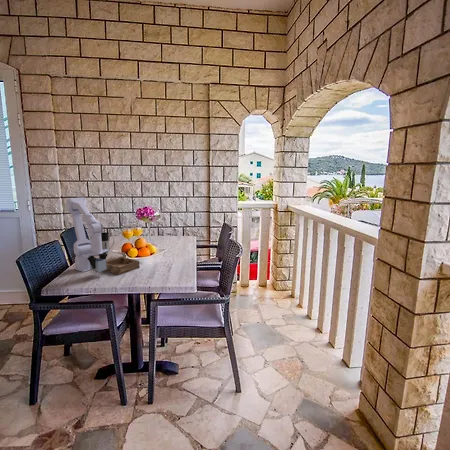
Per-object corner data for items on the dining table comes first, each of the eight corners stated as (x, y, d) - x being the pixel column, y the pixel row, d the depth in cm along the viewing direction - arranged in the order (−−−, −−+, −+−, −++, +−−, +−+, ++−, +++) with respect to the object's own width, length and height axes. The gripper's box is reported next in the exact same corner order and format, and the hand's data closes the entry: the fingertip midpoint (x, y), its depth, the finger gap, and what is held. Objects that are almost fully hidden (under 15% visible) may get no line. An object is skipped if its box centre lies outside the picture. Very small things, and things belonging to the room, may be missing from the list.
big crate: (102, 270, 179) (101, 262, 178) (122, 263, 191) (121, 257, 190) (119, 274, 170) (119, 267, 170) (139, 267, 183) (139, 260, 182)
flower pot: (120, 262, 195) (119, 249, 193) (121, 258, 204) (120, 246, 202) (135, 261, 197) (134, 248, 196) (135, 257, 206) (135, 245, 205)
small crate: (90, 269, 168) (89, 259, 167) (97, 267, 172) (97, 257, 171) (98, 272, 164) (98, 262, 163) (106, 269, 168) (105, 259, 167)
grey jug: (103, 251, 221) (102, 231, 219) (119, 253, 217) (117, 233, 214) (94, 254, 213) (93, 234, 210) (110, 256, 208) (109, 235, 206)
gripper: (89, 247, 157) (91, 272, 160) (111, 242, 169) (113, 265, 172) (81, 246, 161) (83, 269, 163) (103, 241, 173) (105, 263, 175)
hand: (98, 267), depth 168 cm, fingers closed on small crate, 5 cm apart
